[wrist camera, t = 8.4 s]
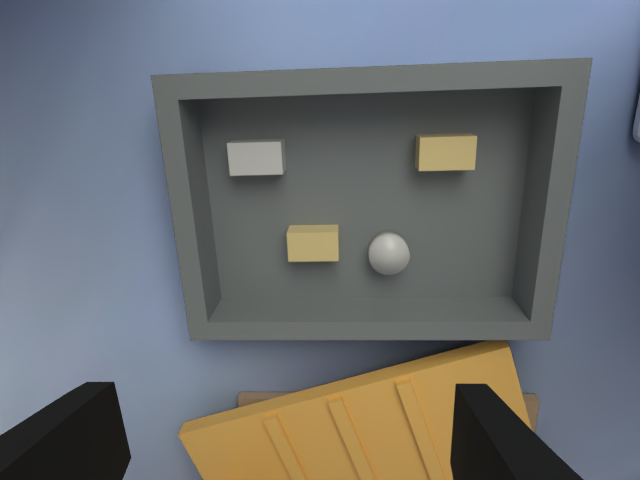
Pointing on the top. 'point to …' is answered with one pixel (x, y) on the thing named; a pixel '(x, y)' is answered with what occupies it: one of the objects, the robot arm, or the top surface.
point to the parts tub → (372, 198)
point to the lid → (354, 423)
